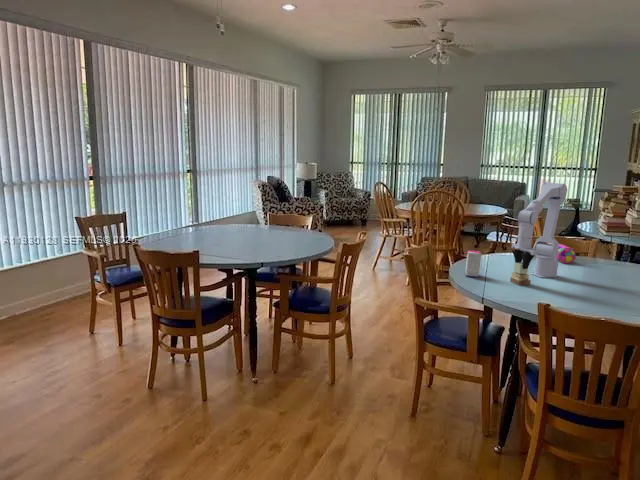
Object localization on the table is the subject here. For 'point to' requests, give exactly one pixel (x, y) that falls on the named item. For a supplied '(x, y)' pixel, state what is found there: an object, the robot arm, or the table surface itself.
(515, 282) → the tower base
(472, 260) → the supplement box
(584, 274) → the table surface
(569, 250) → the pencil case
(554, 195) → the robot arm
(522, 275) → the tower mid
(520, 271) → the top block
